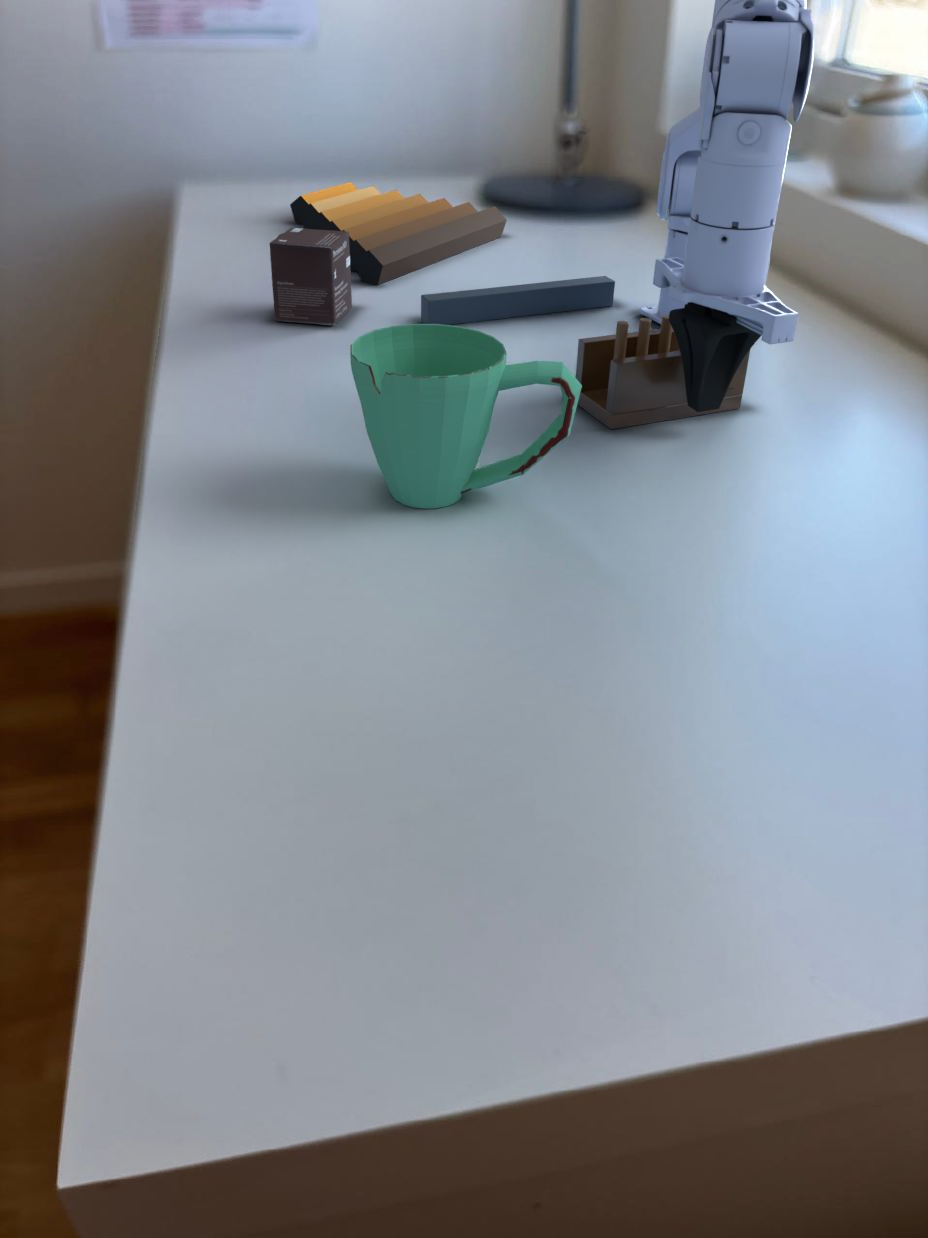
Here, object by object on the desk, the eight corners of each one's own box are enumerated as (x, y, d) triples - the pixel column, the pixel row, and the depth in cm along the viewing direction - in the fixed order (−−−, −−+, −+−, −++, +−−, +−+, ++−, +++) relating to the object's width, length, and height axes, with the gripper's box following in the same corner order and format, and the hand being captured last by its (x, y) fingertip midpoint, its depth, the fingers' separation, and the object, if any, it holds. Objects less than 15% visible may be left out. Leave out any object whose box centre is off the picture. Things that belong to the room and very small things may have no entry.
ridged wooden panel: (383, 285, 113) (506, 237, 131) (382, 252, 111) (507, 208, 129) (205, 247, 124) (340, 207, 142) (202, 216, 122) (339, 179, 140)
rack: (698, 382, 92) (710, 297, 88) (740, 408, 88) (755, 320, 84) (573, 401, 88) (580, 313, 84) (610, 429, 84) (620, 337, 80)
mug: (342, 522, 70) (337, 372, 65) (365, 457, 78) (362, 319, 73) (572, 535, 69) (586, 385, 64) (570, 469, 78) (583, 330, 72)
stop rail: (603, 300, 111) (605, 275, 110) (613, 305, 110) (615, 280, 108) (420, 320, 104) (420, 294, 103) (428, 327, 103) (428, 300, 101)
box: (334, 327, 102) (331, 247, 98) (273, 322, 103) (267, 242, 99) (353, 308, 107) (350, 230, 103) (294, 302, 108) (289, 226, 104)
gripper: (627, 200, 79) (608, 380, 86) (748, 251, 68) (715, 452, 75) (708, 193, 81) (684, 369, 89) (838, 242, 70) (797, 438, 78)
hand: (703, 407), depth 82 cm, fingers closed
